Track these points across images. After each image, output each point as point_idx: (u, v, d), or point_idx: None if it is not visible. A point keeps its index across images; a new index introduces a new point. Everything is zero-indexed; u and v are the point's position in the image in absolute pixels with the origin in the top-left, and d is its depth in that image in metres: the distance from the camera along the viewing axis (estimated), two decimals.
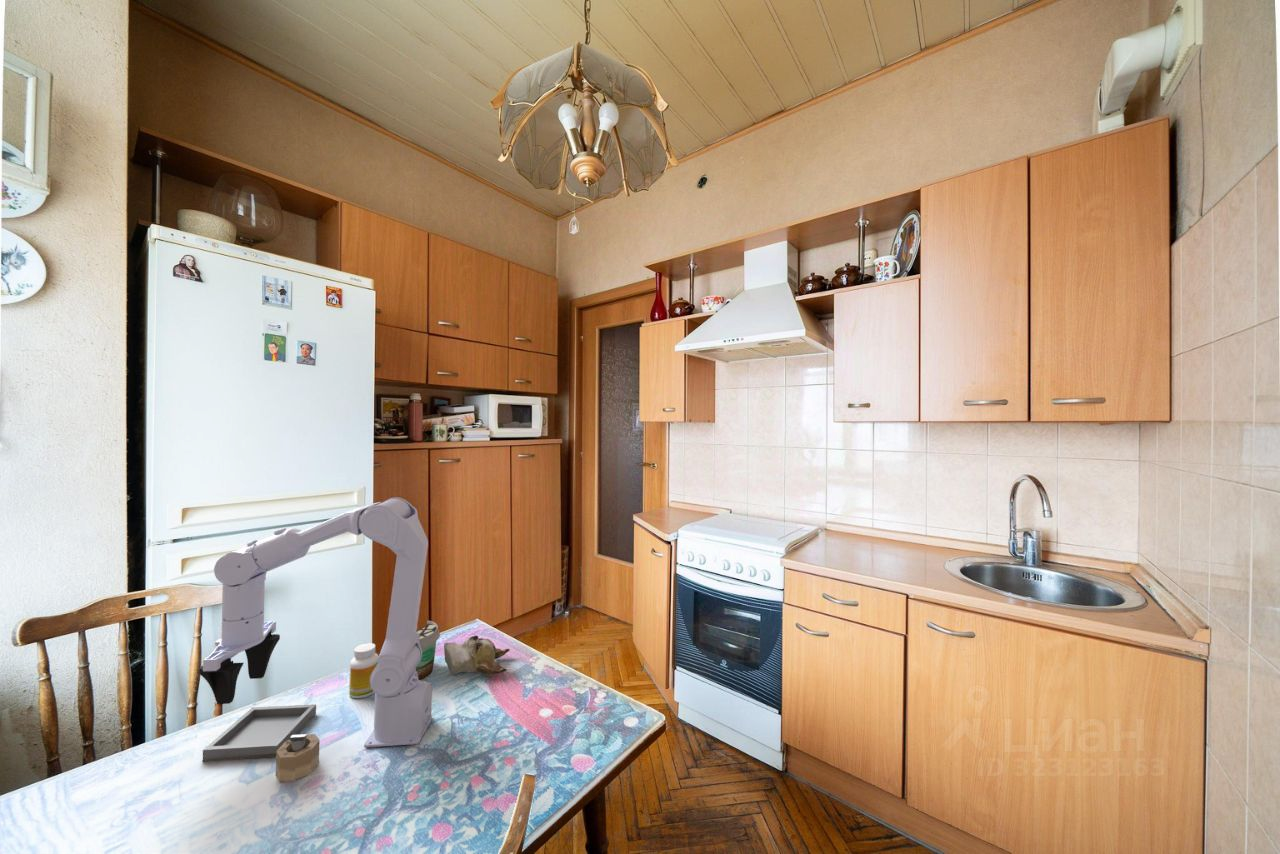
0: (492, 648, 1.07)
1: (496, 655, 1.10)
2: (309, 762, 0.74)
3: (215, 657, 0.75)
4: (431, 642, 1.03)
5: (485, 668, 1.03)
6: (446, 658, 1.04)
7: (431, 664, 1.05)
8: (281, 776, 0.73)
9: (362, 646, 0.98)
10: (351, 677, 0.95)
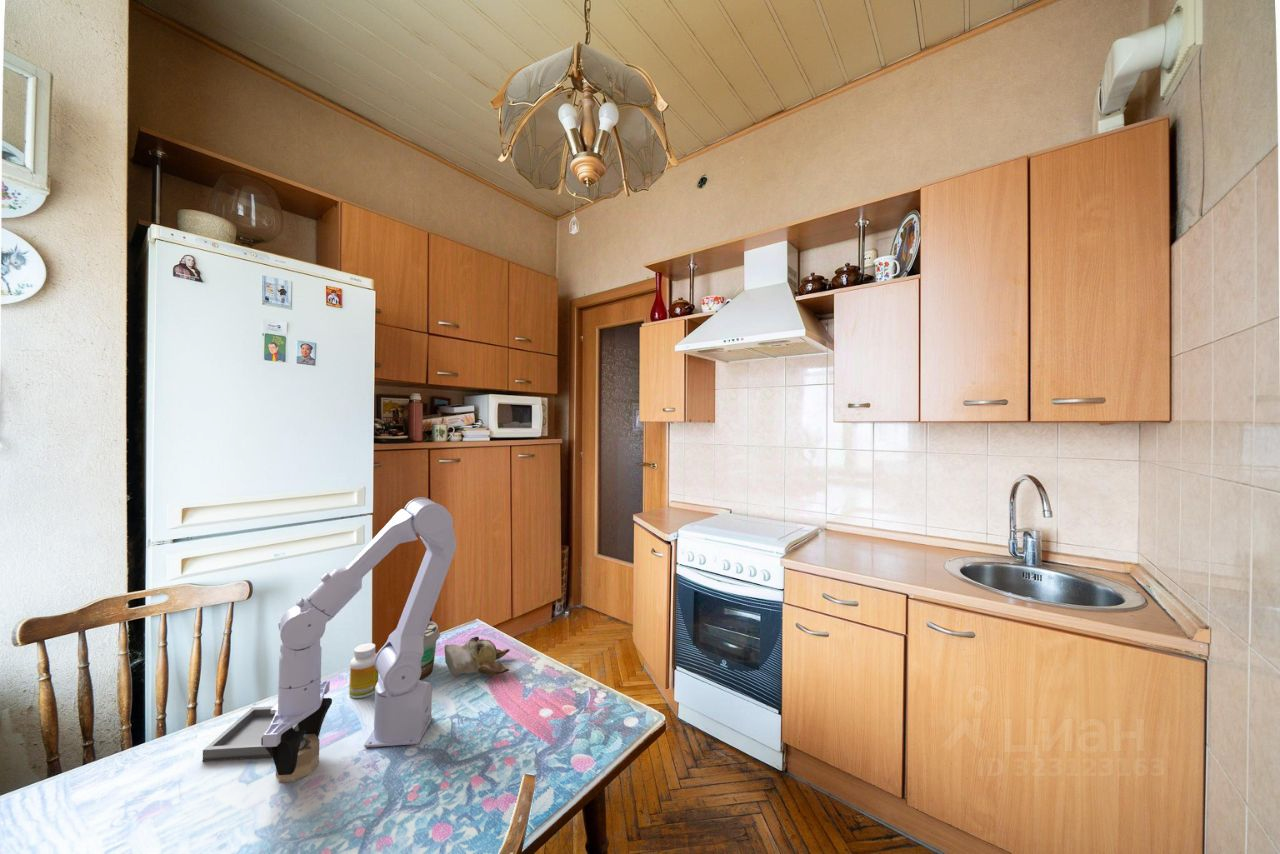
0: (493, 648, 1.06)
1: (496, 656, 1.10)
2: (309, 762, 0.74)
3: (275, 731, 0.69)
4: (431, 642, 1.03)
5: (487, 669, 1.02)
6: (447, 660, 1.03)
7: (431, 664, 1.05)
8: (281, 776, 0.73)
9: (362, 646, 0.98)
10: (351, 677, 0.95)
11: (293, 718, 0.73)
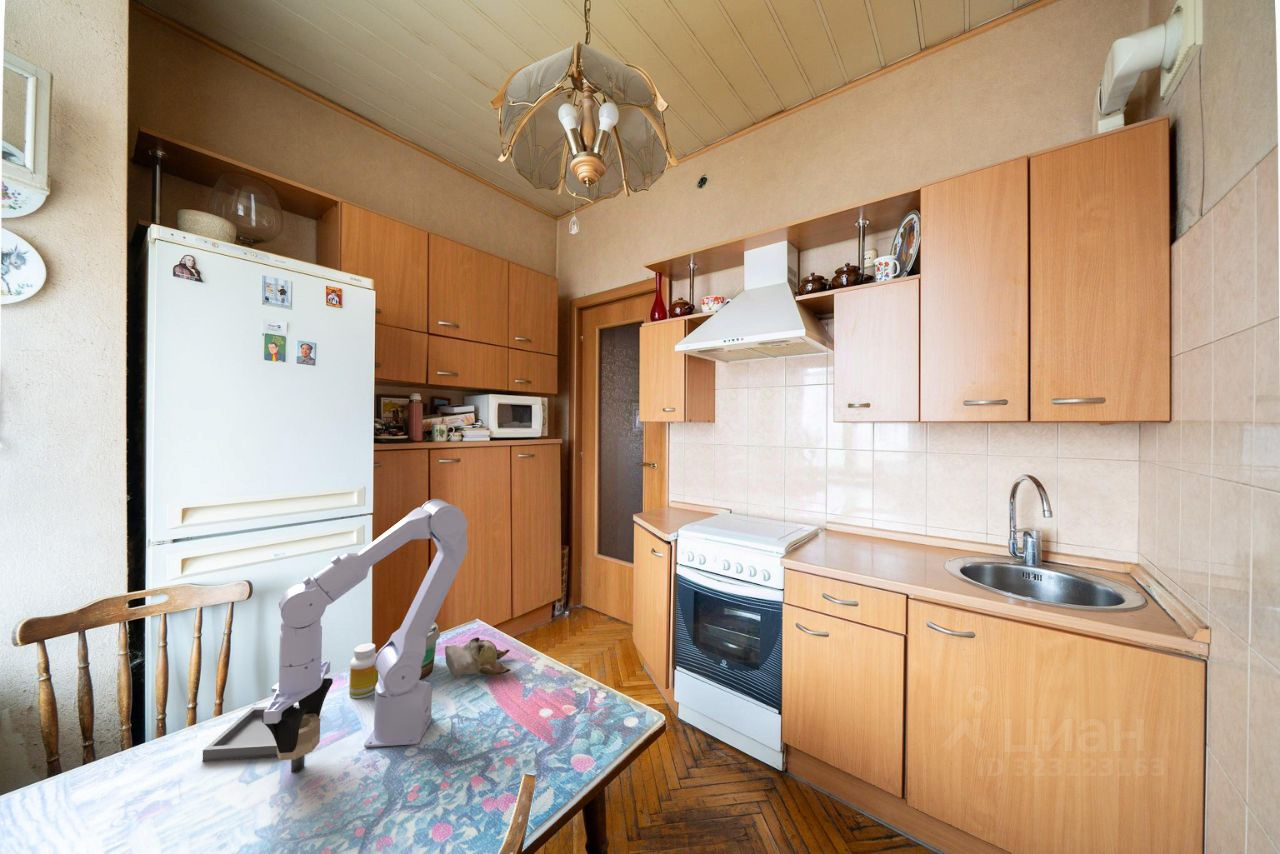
0: (494, 649, 1.06)
1: (497, 656, 1.09)
2: (310, 741, 0.75)
3: (276, 708, 0.69)
4: (431, 642, 1.03)
5: (489, 669, 1.02)
6: (447, 661, 1.03)
7: (431, 664, 1.05)
8: (282, 754, 0.73)
9: (362, 646, 0.98)
10: (351, 677, 0.95)
11: (294, 696, 0.73)
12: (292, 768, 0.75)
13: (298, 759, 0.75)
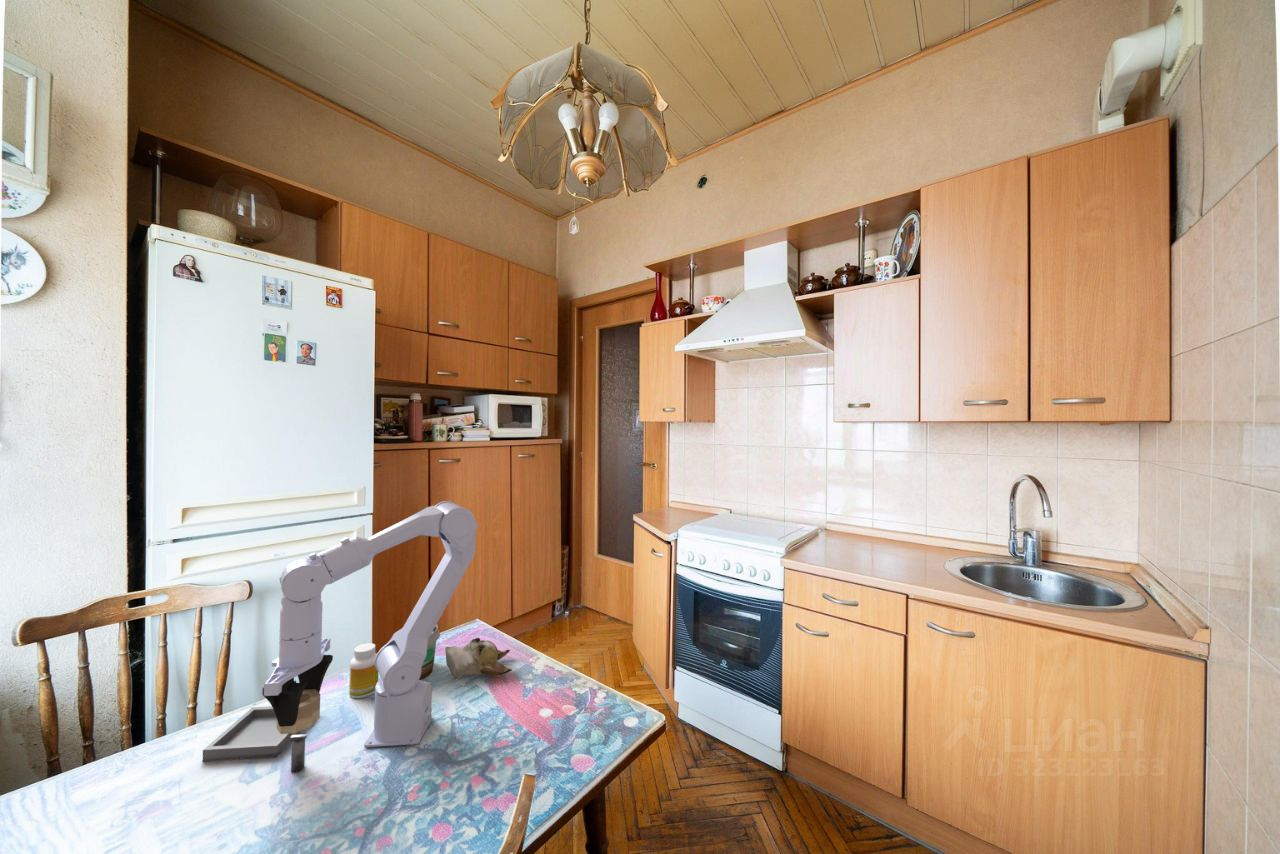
0: (495, 649, 1.06)
1: (497, 656, 1.09)
2: (310, 715, 0.75)
3: (276, 680, 0.69)
4: (431, 642, 1.03)
5: (490, 670, 1.02)
6: (448, 662, 1.02)
7: (431, 664, 1.05)
8: (282, 728, 0.73)
9: (362, 646, 0.98)
10: (351, 677, 0.95)
11: (294, 670, 0.73)
12: (292, 768, 0.75)
13: (298, 759, 0.75)
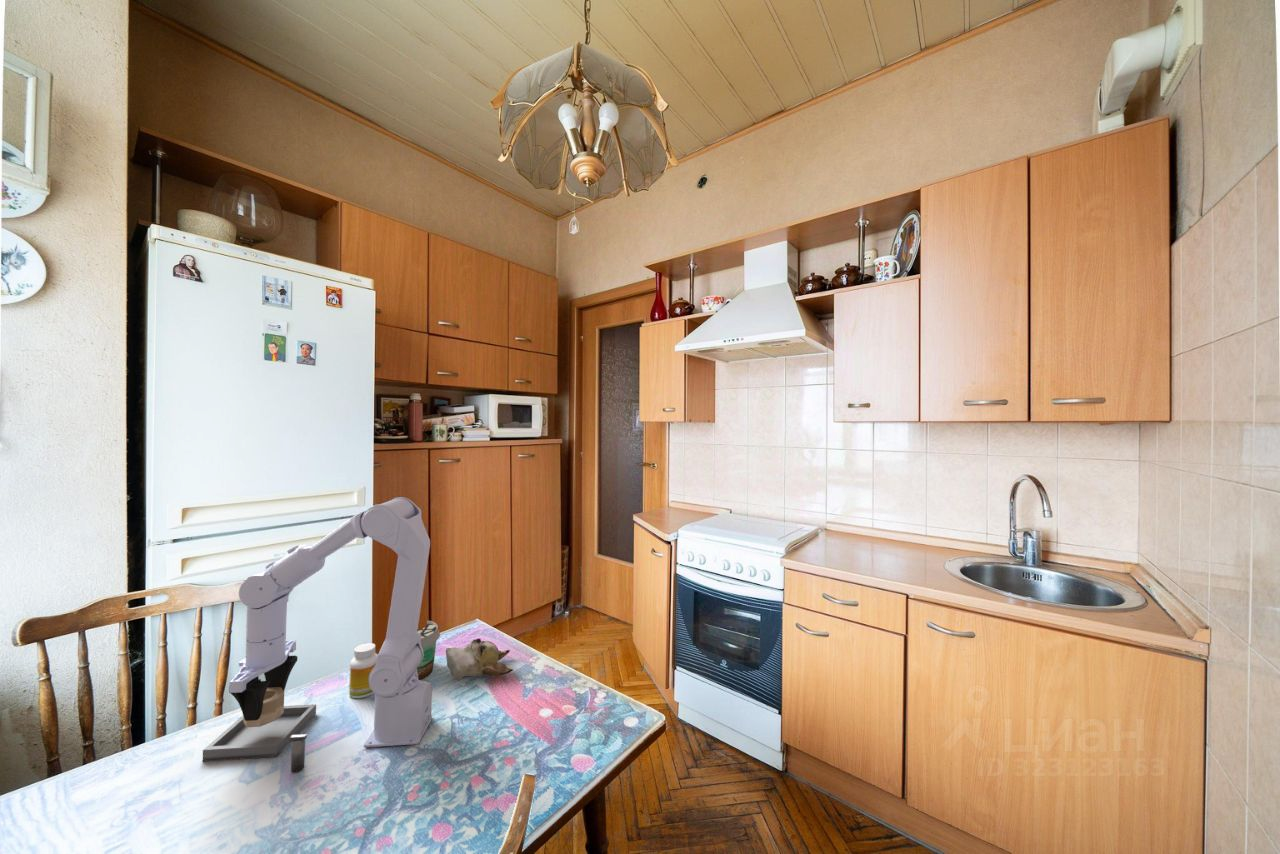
0: (496, 649, 1.06)
1: (498, 657, 1.09)
2: (274, 710, 0.82)
3: (241, 679, 0.77)
4: (431, 642, 1.03)
5: (491, 670, 1.02)
6: (449, 663, 1.02)
7: (431, 664, 1.05)
8: (247, 722, 0.80)
9: (362, 646, 0.98)
10: (351, 677, 0.95)
11: (259, 669, 0.80)
12: (292, 768, 0.75)
13: (298, 759, 0.75)
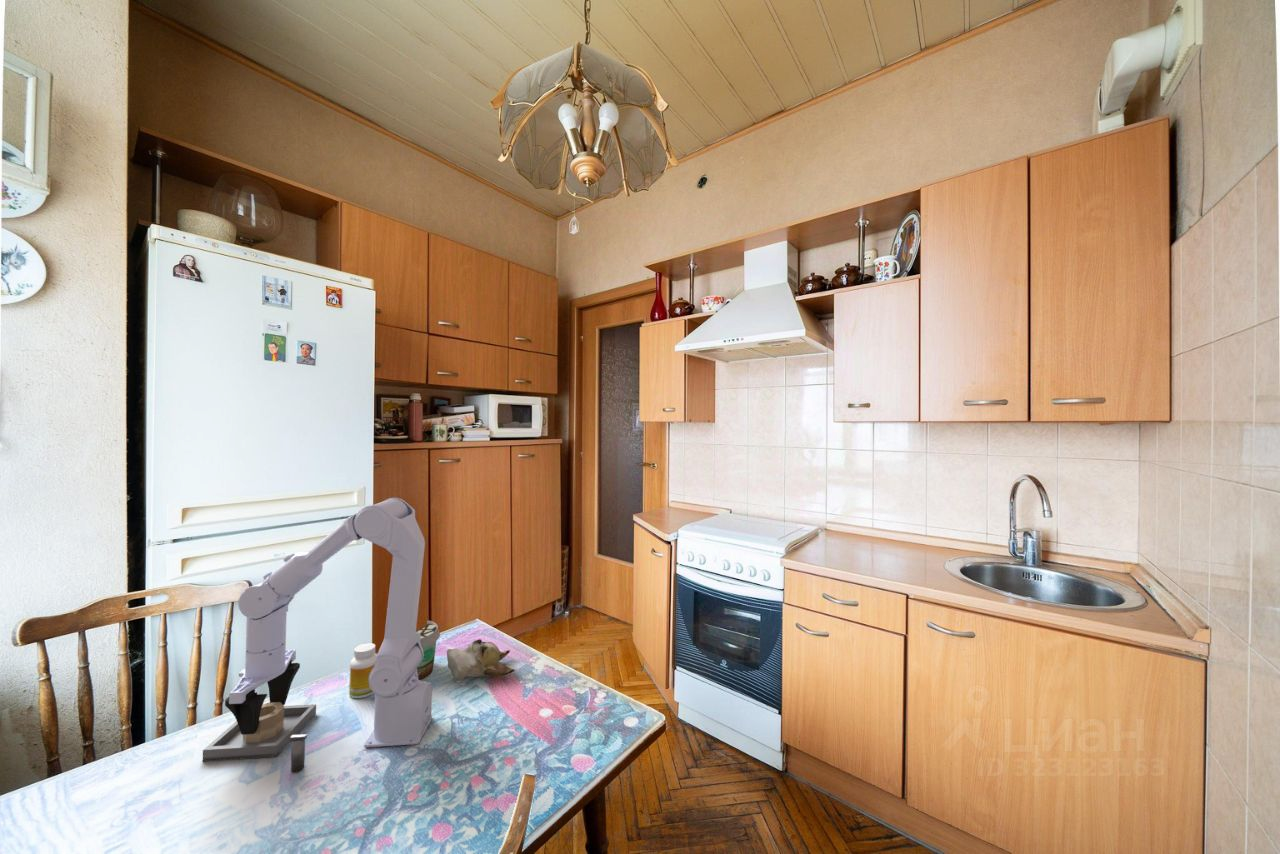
0: (497, 650, 1.06)
1: (498, 657, 1.09)
2: (273, 726, 0.82)
3: (240, 690, 0.77)
4: (431, 642, 1.03)
5: (493, 671, 1.02)
6: (450, 665, 1.01)
7: (431, 664, 1.05)
8: (247, 738, 0.80)
9: (362, 646, 0.98)
10: (351, 677, 0.95)
11: (258, 680, 0.80)
12: (292, 768, 0.75)
13: (298, 759, 0.75)
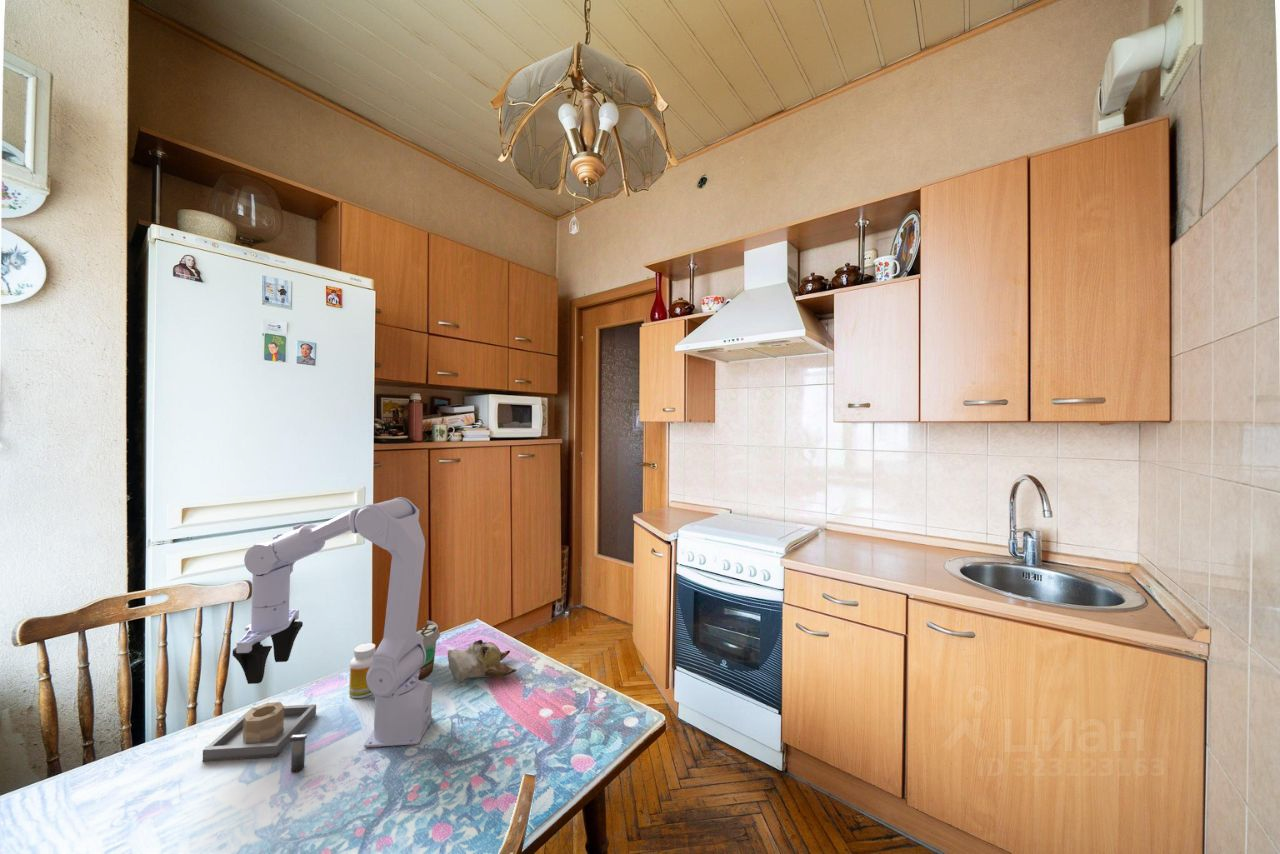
0: (498, 650, 1.06)
1: None
2: (273, 726, 0.82)
3: (247, 640, 0.81)
4: (431, 642, 1.03)
5: (495, 671, 1.02)
6: (451, 666, 1.01)
7: (431, 664, 1.05)
8: (247, 738, 0.80)
9: (362, 646, 0.98)
10: (351, 677, 0.95)
11: (264, 633, 0.85)
12: (292, 768, 0.75)
13: (298, 759, 0.75)
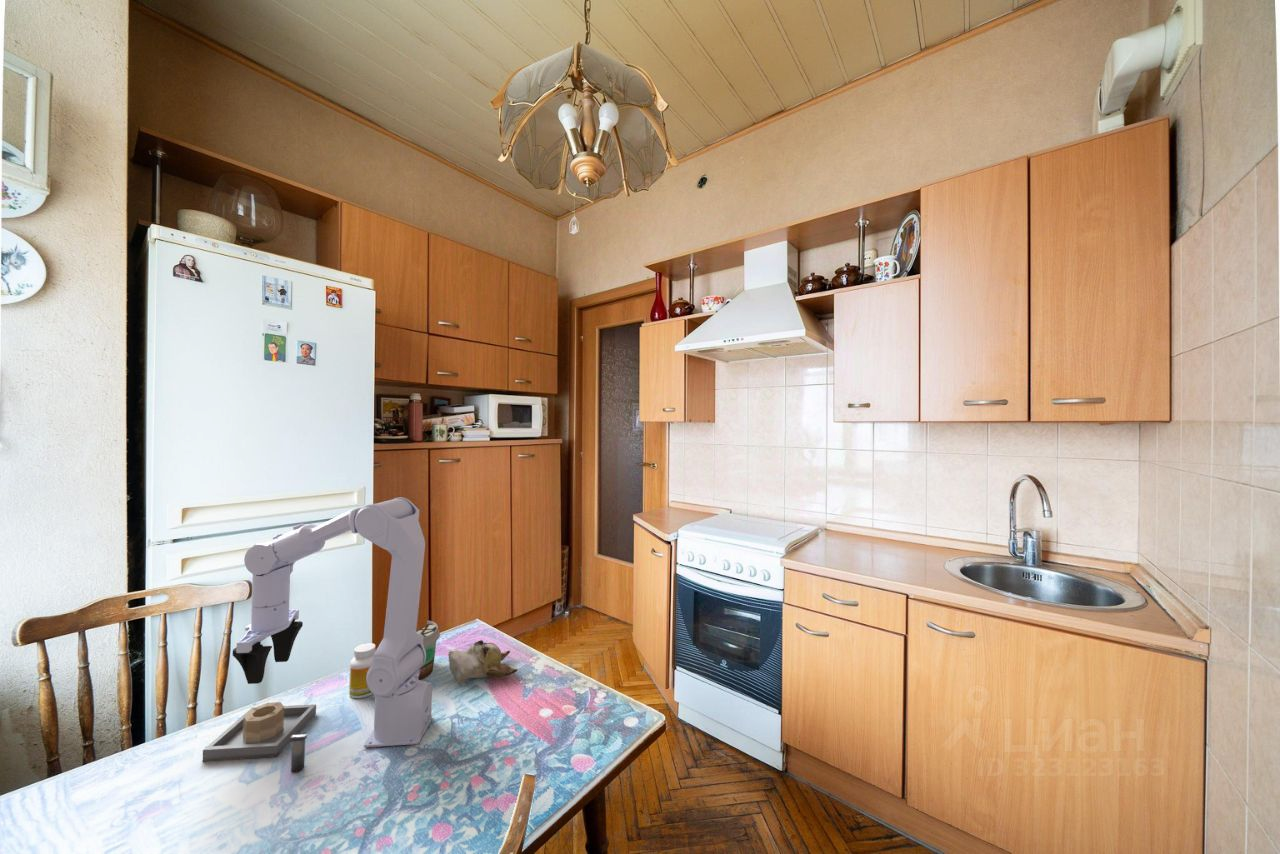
0: (499, 650, 1.06)
1: None
2: (273, 726, 0.82)
3: (247, 640, 0.81)
4: (431, 642, 1.03)
5: (496, 671, 1.01)
6: (452, 667, 1.00)
7: (431, 664, 1.05)
8: (247, 738, 0.80)
9: (362, 646, 0.98)
10: (351, 677, 0.95)
11: (264, 633, 0.85)
12: (292, 768, 0.75)
13: (298, 759, 0.75)
